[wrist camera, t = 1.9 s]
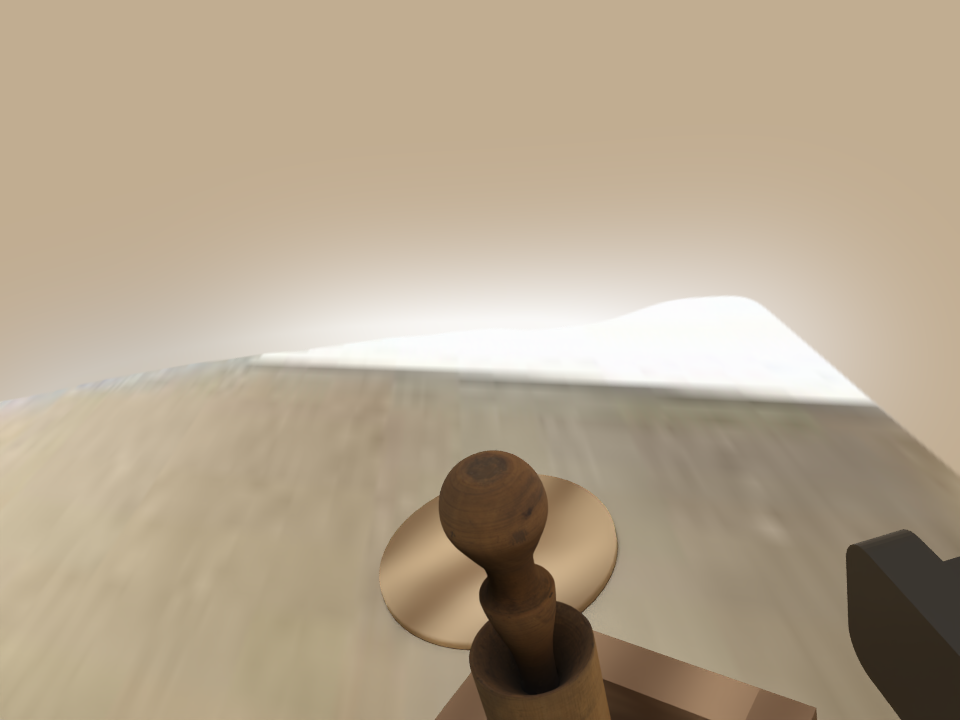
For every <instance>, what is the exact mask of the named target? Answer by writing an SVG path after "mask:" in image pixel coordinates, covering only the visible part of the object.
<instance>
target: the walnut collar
mask: <svg viewBox="0 0 960 720" xmlns="http://www.w3.org/2000/svg"><path fill="white" fill-rule="evenodd" d="M593 633H594V638H595V642H596V647H597V652H598V658H599V663H600V668H601V673H602V679H603V684H604V688H605V693H606V698H607V703H608V708H609V713H610V718H611V720H817V713H816V708H815V707H812V706H809V705H806V704H803V703H801V702H798V701H795V700H792V699H789V698H786V697H783V696H780V695H778V694H775V693H772V692H769V691H766V690H763V689H760V688H757V687H754V686H752V685H749V684H746V683H743V682H740V681H737V680H734V679H731V678H729V677H726V676H723V675H720V674H717V673H714V672H711V671H708V670H705V669H703V668H700V667H697V666H694V665H691V664H688V663H685V662H682V661H679V660H677V659H674V658H671V657H668V656H665V655H662V654H659V653H656V652H654V651H651V650H648V649H645V648H642V647H639V646H636V645H633V644H630V643H628V642H625V641H622V640H619V639H616V638H613V637H610V636H607V635H605V634H602V633H599V632H596V631H593ZM435 720H487V717H486V714H485V711H484V708H483V705H482V702H481V699H480V696H479V693H478V690H477V687H476V684H475V681H474V678H473V675H472V672H471V673H470V675H469V676H468V677H467V679H466V680H465V681H464V682H463V684H462V685H461V686H460V688H459V689H458V690H457V691H456V693H455V694H454V695H453V697H452V698H451V699H450V701H449V702H448V703H447V704H446V706H445V707H444V708H443V710H442V711H441V712H440V713H439V715H438V716H437V717H436V719H435Z"/></svg>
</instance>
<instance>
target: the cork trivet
mask: <svg viewBox="0 0 960 720" xmlns="http://www.w3.org/2000/svg"><path fill="white" fill-rule="evenodd" d="M537 475H538V474H537ZM538 476H539V478H540V480H541V481H542V483H543V486H544V488H545V491H546V495H547V499H548V516H547V521H546V525H545V528H544V531H543V533H542V535H541V538H540V540H539V543H538V545H537V547H536V549H535V552H534V554H533V558H534V563H535V564H538V565H540V566H542V567H544V568H545V569H546V570H548V571H549V572H550V574H551V575H552V577H553V578H554V581H555V588H556V601H559V602H562V603H565V604H568V605H570V606H572V607H574V608H575V609H577V610H578V611H579V612H582V611H584V610H585V609H586V608H587V607H588V606H589V605H590V604H591V603H592V602H593V601H594V600H595V599H596V597H597V596H598V595H599V594H600V593H601V591H602V590H603V589H604V587H605V585H606V584H607V582H608V580H609V579H610V577H611V574H612V572H613V569H614V567H615V563H616V558H617V544H618V543H617V537H616V532H615V526H614V523H613V520H612V518H611V515H610V513H609V512H608V510H607V508H606V507H605V505H604V504H603V503H602V502H601V501H600V500H599V499H598V498H597V497H596V496H595V495H593V494H592V493H591V492H589V491H588V490H586V489H584V488H583V487H581V486H579V485H577V484H575V483H572V482H570V481H567V480H564V479H560V478H557V477H552V476H546V475H538ZM486 577H487V574H486V572H485V570H484V568H482V567H480V566H479V565H477V564H476V563H475V562H473V561H472V560H471V559H469V558H468V557H467V556H465V555H464V554H463V553H462V552H460V551H459V550H458V549H457V548H456V547H455V546H454V545H453V544H452V543H451V542H450V540H449V539H448V538H447V536H446V534H445V532H444V530H443V528H442V525H441V521H440V517H439V496H438V497H436V498H434V499H433V500H431V501H429V502H428V503H426V504H425V505H424V506H422V507H421V508H420V509H418V510H417V511H415V512H414V513H413V514H412V515H411V516H410V517H409V518H408V519H407V520H406V521H405V522H404V523H403V524H402V525H401V526H400V527H399V528H398V529H397V531H396V532H395V534H394V535H393V537H392V538H391V539H390V541H389V543H388V545H387V547H386V549H385V551H384V554H383V557H382V560H381V565H380V570H379V582H380V587H381V592H382V594H383V597H384V600H385V602H386V605H387V607H388V609H389V611H390V613H391V614H392V616H393V617H394V618H395V620H396V621H397V622H398V623H399V624H400V625H401V626H402V627H403V628H405V629H406V630H407V631H409V632H410V633H412V634H413V635H415V636H417V637H419V638H421V639H423V640H425V641H428V642H431V643H434V644H437V645H440V646H445V647H450V648H455V649H469V650H470V649H471V645H472V642H473V640H474V638H475V636H476V634H477V633H478V631H479V630H480V629H481V628H482V626H483V625H484V624H485V623H486V622H487V621H489V620H488V618H487V616H486V615H485V613H484V611H483V609H482V606H481V604H480V601H479V590H480V587H481V585H482V583H483V581H484V580H485V579H486Z"/></svg>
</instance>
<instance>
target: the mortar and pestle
mask: <svg viewBox="0 0 960 720" xmlns="http://www.w3.org/2000/svg"><path fill="white" fill-rule="evenodd" d="M547 516H548V499H547V495H546V491H545V488H544V486H543V483H542V481H541V480H540V478H539V476H538V475H537V473H536V472H535V471H534V470H533V468H532V467H531V466H530V465H529V464H527V463H526V462H525V461H524V460H522V459H521V458H519V457H517V456H515V455H513V454H510V453H507V452H503V451H483V452H479V453H476V454H473V455H471V456H469V457H467V458H465V459H463V460H462V461H460V462H459V463H458V464H457V465H455V466H454V467H453V469H452V470H451V471H450V472H449V474H448V475H447V477H446V479H445V481H444V483H443V485H442V488H441V491H440V496H439V517H440V521H441V525H442V528H443V530H444V532H445V534H446V536H447V538H448V539H449V540H450V542H451V543H452V544H453V545H454V546H455V547H456V548H457V549H458V550H459V551H460V552H462V553H463V554H464V555H465V556H467V557H468V558H469V559H471V560H472V561H473V562H475V563H476V564H477V565H479V566H480V567H482V568H484V570H485V572H486V574H487V577H486V579H485V580H484V581H483V583H482V585H481V587H480V590H479V601H480V604H481V606H482V609H483V611H484V613H485V615H486V616H487V618H488V620H489V621H487V622H486V623H485V624H484V625H483V626H482V628H481V629H480V630H479V631H478V633H477V634H476V636H475V638H474V640H473V642H472V645H471V649H470V654H469V662H470V668H471V672H472V675H473V678H474V681H475V684H476V687H477V690H478V693H479V696H480V699H481V702H482V705H483V708H484V711H485V714H486V717H487V720H611V718H610V713H609V708H608V703H607V698H606V693H605V688H604V684H603V679H602V673H601V668H600V663H599V658H598V652H597V647H596V642H595V638H594V633H593V630H592V627H591V624H590V623H589V621H588V620H587V618H586V617H585V616H584V615H583V614H582V613H581V612H579V611H578V610H577V609H575V608H574V607H572V606H570V605H568V604H565V603H562V602H559V601H556V588H555V581H554V578H553V577H552V575H551V574H550V572H549V571H548V570H546V569H545V568H544V567H542V566H540V565H538V564H535V563H534V558H533V554H534V552H535V549H536V547H537V545H538V543H539V540H540V538H541V535H542V533H543V531H544V528H545V525H546V521H547Z"/></svg>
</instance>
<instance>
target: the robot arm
mask: <svg viewBox="0 0 960 720" xmlns="http://www.w3.org/2000/svg"><path fill="white" fill-rule="evenodd" d="M846 569H847V597H848V625H849V633H850V637H851V641H852V644H853V647H854V650H855V652H856V655H857V657H858V659H859V661H860V663H861V665H862V667H863V668H864V670H865V672H866V673H867V675H868V676H869V677H870V679H871V680H872V681H873V683H874V684H875V685H876V687H877V688H878V689H879V691H880V692H881V693H882V695H883V696H884V697H885V699H886V700H887V701H888V703H889V704H890V705H891V707H892V708H893V709H894V711H895V712H896V713H897V715H898V716H899V717H900V719H901V720H960V557H957V558H953V559H950V560H947V561H942V560H941V559H940V558H939V557H938V556H937V555H936V554H935V553H934V552H933V551H932V550H931V549H930V548H929V547H928V546H927V545H926V544H925V543H924V542H923V541H922V540H921V539H920V538H919V537H918V536H916V535H915V534H914V533H912V532H911V531H909V530H904V529H903V530H900V531H896V532H893V533H890V534H886V535H883V536H880V537H876V538H873V539H870V540H866V541H863V542H860V543H856V544H853V545H850V546H849V547H848V549H847V553H846Z"/></svg>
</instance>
